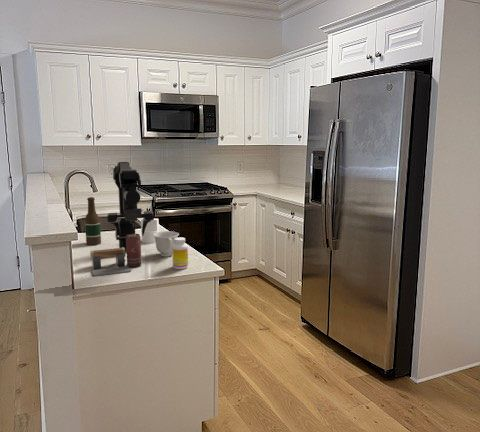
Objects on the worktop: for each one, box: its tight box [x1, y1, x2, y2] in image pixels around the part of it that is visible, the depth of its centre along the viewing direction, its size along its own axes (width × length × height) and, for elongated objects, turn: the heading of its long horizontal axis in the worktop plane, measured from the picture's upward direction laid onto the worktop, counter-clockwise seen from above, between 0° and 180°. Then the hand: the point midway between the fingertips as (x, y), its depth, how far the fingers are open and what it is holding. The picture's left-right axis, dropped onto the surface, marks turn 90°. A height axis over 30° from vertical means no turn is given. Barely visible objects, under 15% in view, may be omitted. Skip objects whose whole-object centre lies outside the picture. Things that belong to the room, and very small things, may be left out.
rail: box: [89, 247, 127, 261], centre depth 193 cm, size 3×14×3 cm, turn 113°
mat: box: [91, 265, 131, 278], centre depth 186 cm, size 6×15×1 cm, turn 113°
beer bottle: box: [84, 196, 102, 246], centre depth 226 cm, size 8×8×24 cm
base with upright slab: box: [140, 218, 160, 245], centre depth 233 cm, size 9×9×12 cm
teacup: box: [153, 230, 180, 257], centre depth 209 cm, size 12×15×10 cm
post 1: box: [91, 256, 102, 270], centre depth 191 cm, size 6×3×6 cm, turn 23°
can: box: [126, 232, 142, 269], centre depth 193 cm, size 6×6×14 cm
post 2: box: [115, 254, 126, 267], centre depth 195 cm, size 6×3×6 cm, turn 23°
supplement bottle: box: [171, 236, 189, 270], centre depth 192 cm, size 7×7×13 cm
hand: (131, 236), depth 189 cm, fingers open, 9 cm apart
